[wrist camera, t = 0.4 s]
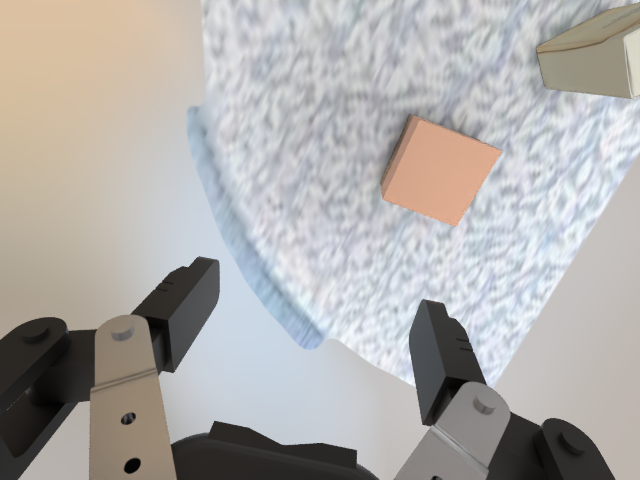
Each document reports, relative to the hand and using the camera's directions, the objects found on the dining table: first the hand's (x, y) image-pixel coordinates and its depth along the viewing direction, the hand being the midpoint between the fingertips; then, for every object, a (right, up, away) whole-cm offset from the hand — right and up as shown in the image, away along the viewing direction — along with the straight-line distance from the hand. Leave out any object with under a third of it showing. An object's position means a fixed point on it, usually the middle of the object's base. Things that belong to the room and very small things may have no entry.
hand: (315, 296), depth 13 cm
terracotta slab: (+12, +10, +21) cm, 26 cm away
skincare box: (+24, +20, +18) cm, 36 cm away
